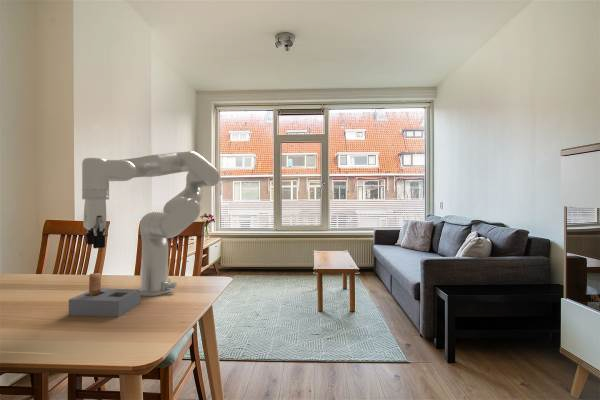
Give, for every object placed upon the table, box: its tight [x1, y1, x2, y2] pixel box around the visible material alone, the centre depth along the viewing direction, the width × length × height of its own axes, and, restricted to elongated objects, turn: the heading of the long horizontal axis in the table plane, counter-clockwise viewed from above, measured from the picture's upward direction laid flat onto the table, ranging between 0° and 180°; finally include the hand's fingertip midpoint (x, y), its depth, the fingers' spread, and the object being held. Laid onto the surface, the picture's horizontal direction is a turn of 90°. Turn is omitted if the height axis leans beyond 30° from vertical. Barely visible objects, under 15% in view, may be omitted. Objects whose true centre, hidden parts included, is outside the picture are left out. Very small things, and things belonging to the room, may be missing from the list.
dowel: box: [88, 272, 102, 296], centre depth 101 cm, size 3×3×10 cm
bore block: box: [67, 287, 141, 318], centre depth 101 cm, size 16×12×5 cm
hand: (95, 245), depth 102 cm, fingers open, 9 cm apart
